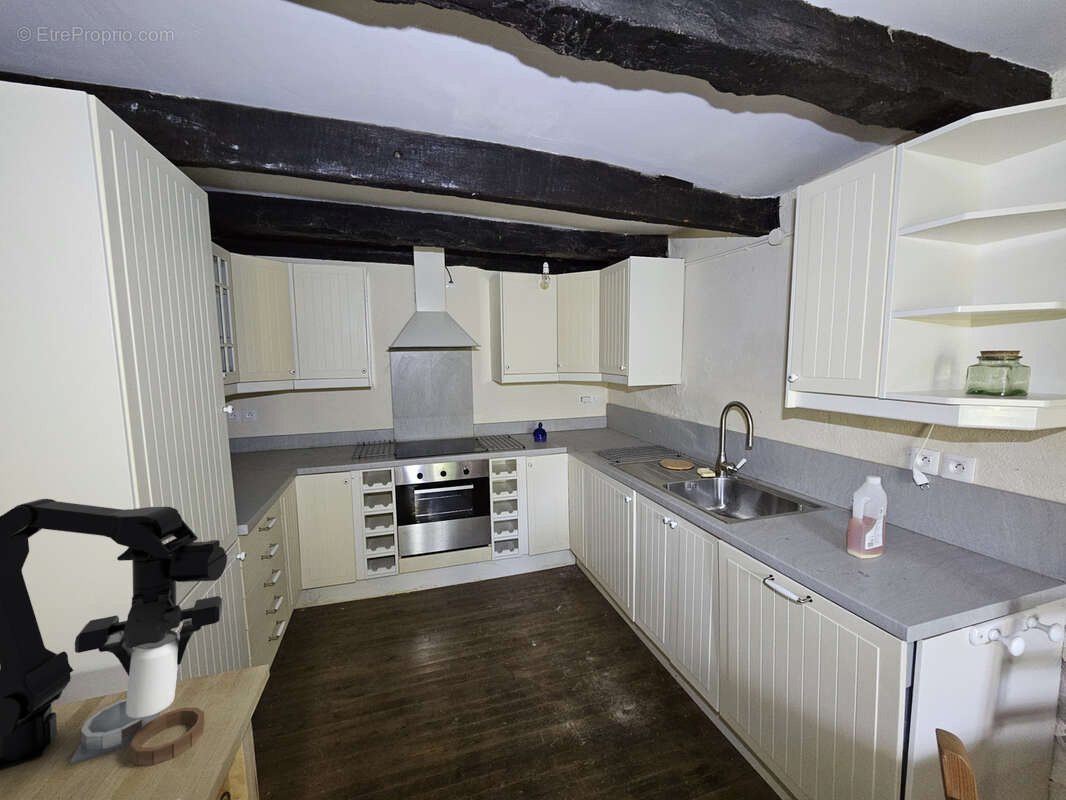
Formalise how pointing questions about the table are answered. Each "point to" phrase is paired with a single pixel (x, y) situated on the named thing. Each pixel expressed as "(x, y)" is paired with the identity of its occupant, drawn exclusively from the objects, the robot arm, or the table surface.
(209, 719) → the table surface
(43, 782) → the table surface
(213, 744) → the table surface
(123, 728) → the dock
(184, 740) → the brown segmented ring
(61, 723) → the table surface
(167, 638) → the can
